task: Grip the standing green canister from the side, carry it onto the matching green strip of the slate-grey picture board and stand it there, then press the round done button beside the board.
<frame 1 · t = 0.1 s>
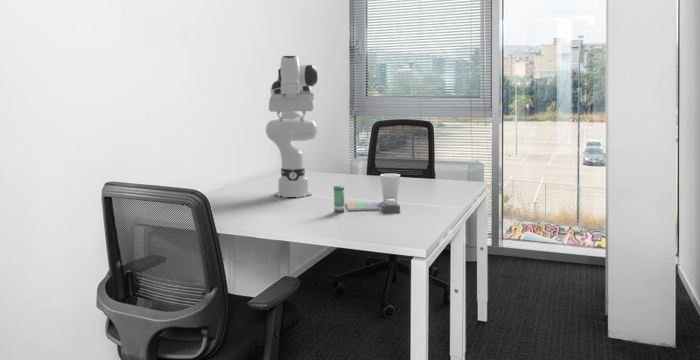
hand: (291, 121, 248), 39 cm above the table, tool pointing down, fingers open, 8 cm apart
button collar: (390, 211, 239), on the table
done button: (390, 203, 238), point 3 cm above the table, slide at 0.0 cm
green canister: (339, 211, 238), on the table
picture board: (361, 207, 247), on the table
translucent tapered cup: (390, 202, 259), on the table
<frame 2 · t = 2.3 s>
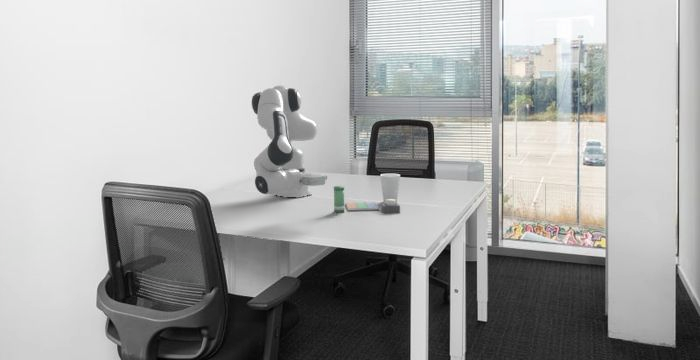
hand: (318, 176, 226), 17 cm above the table, tool horizontal, fingers open, 8 cm apart
nothing on the table moved.
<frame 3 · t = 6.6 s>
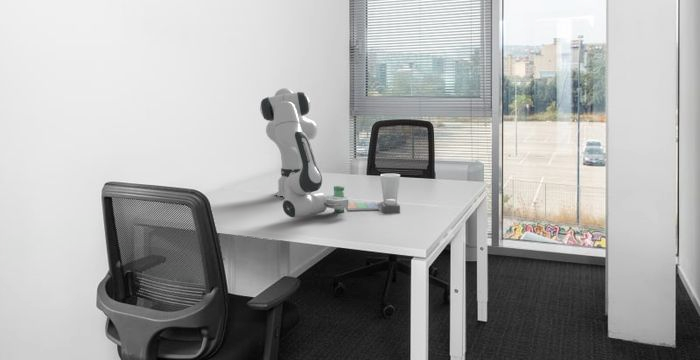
hand: (340, 198, 237), 6 cm above the table, tool horizontal, fingers closed on green canister, 4 cm apart
green canister: (339, 211, 238), on the table, touching gripper
everything else where it was.
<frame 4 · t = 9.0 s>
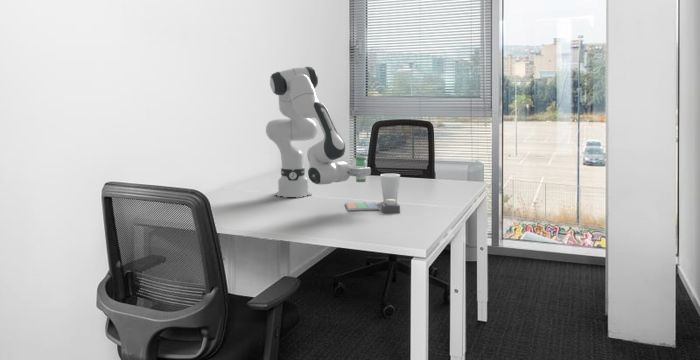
hand: (362, 168, 245), 18 cm above the table, tool horizontal, fingers closed on green canister, 4 cm apart
green canister: (360, 181, 246), point 12 cm above the table, touching gripper
everything else where it was.
when the fingers open (8 cm above the table, at t = 11.4 s): green canister stays where it is, resting on picture board.
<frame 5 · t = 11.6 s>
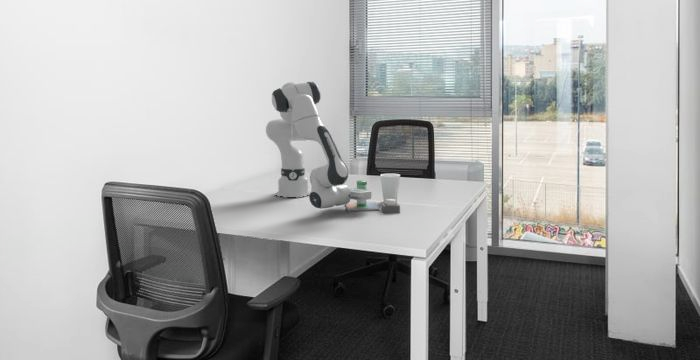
hand: (362, 190, 247), 8 cm above the table, tool horizontal, fingers open, 6 cm apart
green canister: (361, 205, 248), point 1 cm above the table, touching picture board
everything else where it was.
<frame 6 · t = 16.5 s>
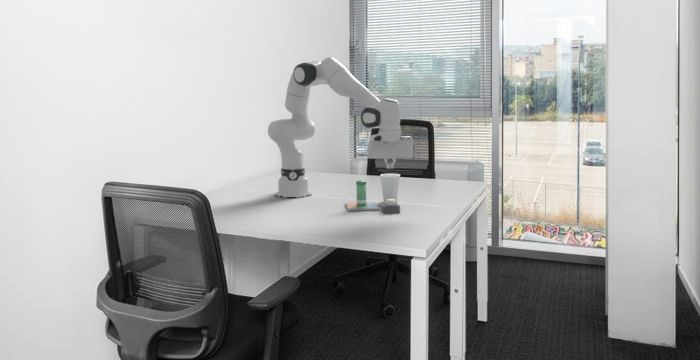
hand: (390, 168, 235), 19 cm above the table, tool pointing down, fingers closed
nothing on the table moved.
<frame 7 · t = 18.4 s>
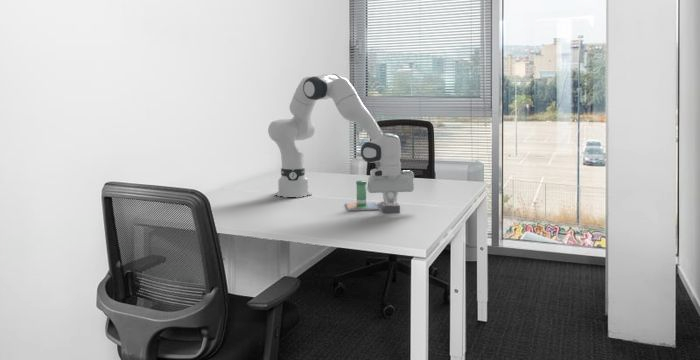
hand: (390, 202, 238), 4 cm above the table, tool pointing down, fingers closed, pressing on done button
done button: (390, 206, 238), point 2 cm above the table, slide at 1.0 cm, touching gripper
everything else where it was.
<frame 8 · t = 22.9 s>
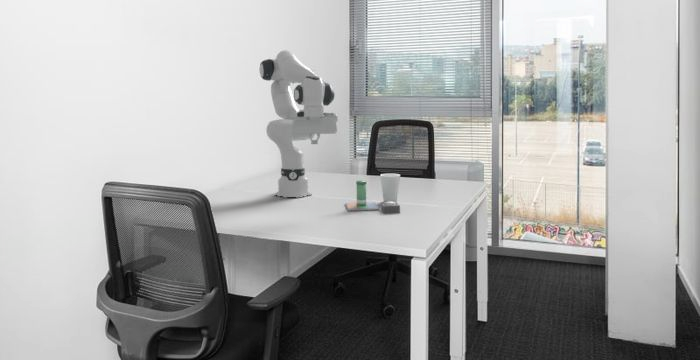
hand: (314, 144, 242), 29 cm above the table, tool pointing down, fingers closed
done button: (390, 206, 238), point 2 cm above the table, slide at 1.1 cm
everything else where it was.
at the end: green canister inside the target area on the picture board (0.1 cm from its centre), point 0.7 cm above the picture board's base; green canister tilted 0°; done button slide at 1.1 cm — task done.
